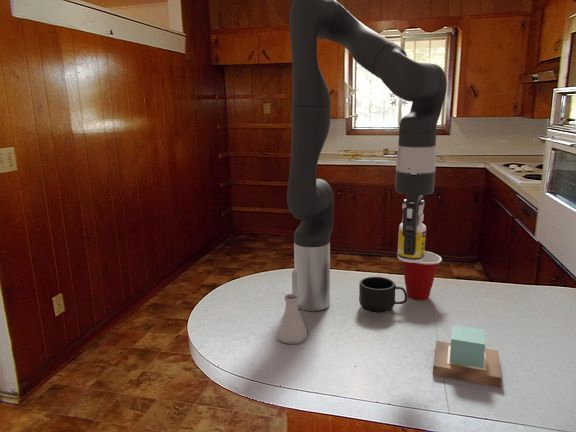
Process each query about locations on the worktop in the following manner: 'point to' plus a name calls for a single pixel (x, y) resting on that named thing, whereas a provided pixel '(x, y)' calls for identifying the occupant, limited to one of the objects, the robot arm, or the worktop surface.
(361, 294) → the mug
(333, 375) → the worktop surface
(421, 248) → the supplement bottle
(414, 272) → the plastic cup
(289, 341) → the flask
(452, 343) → the teal block
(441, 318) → the worktop surface
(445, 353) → the base board
